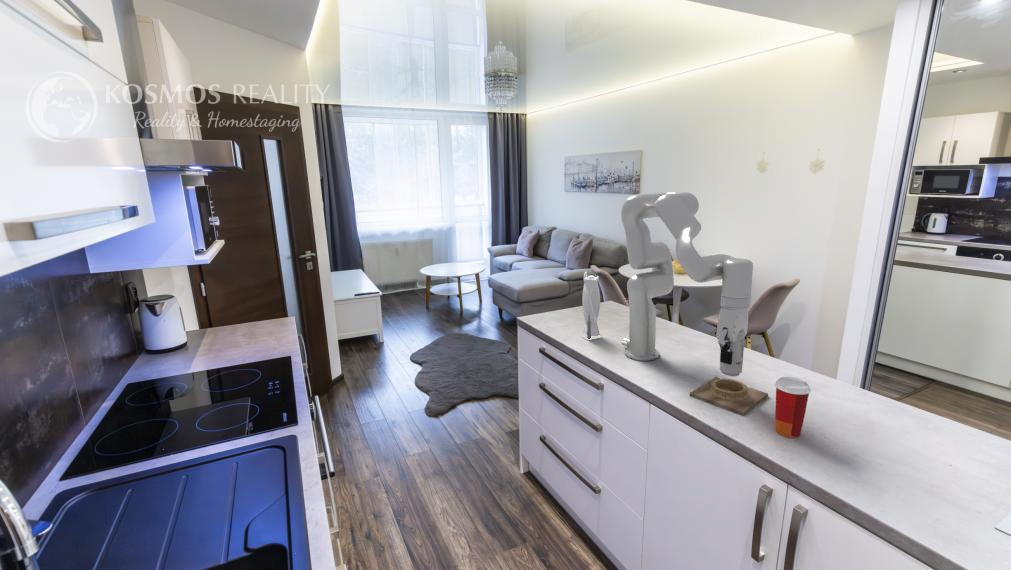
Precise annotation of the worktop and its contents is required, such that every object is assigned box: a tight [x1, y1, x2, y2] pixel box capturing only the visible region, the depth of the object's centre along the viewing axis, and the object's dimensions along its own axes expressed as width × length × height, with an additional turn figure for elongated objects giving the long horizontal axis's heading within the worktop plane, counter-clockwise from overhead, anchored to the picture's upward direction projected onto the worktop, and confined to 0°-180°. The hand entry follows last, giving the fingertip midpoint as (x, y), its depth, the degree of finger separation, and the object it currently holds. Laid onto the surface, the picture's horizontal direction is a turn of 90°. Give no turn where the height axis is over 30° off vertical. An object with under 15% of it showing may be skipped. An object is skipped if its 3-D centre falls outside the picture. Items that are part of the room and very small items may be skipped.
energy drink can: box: [719, 329, 746, 377], centre depth 130 cm, size 6×6×15 cm
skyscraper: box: [581, 271, 601, 339], centre depth 186 cm, size 8×8×28 cm
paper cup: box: [774, 376, 812, 439], centre depth 113 cm, size 8×8×14 cm
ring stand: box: [689, 376, 769, 416], centre depth 133 cm, size 16×16×4 cm
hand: (731, 359), depth 131 cm, fingers closed on energy drink can, 6 cm apart
